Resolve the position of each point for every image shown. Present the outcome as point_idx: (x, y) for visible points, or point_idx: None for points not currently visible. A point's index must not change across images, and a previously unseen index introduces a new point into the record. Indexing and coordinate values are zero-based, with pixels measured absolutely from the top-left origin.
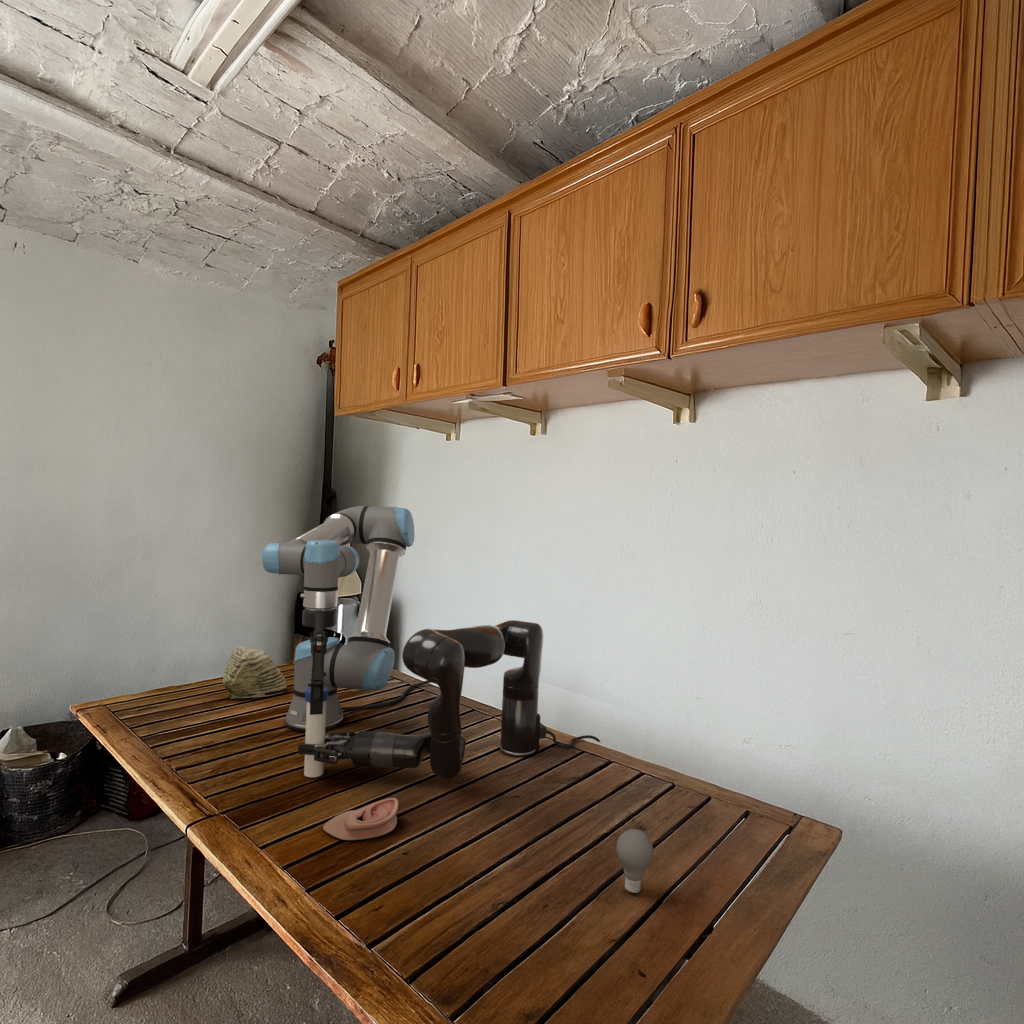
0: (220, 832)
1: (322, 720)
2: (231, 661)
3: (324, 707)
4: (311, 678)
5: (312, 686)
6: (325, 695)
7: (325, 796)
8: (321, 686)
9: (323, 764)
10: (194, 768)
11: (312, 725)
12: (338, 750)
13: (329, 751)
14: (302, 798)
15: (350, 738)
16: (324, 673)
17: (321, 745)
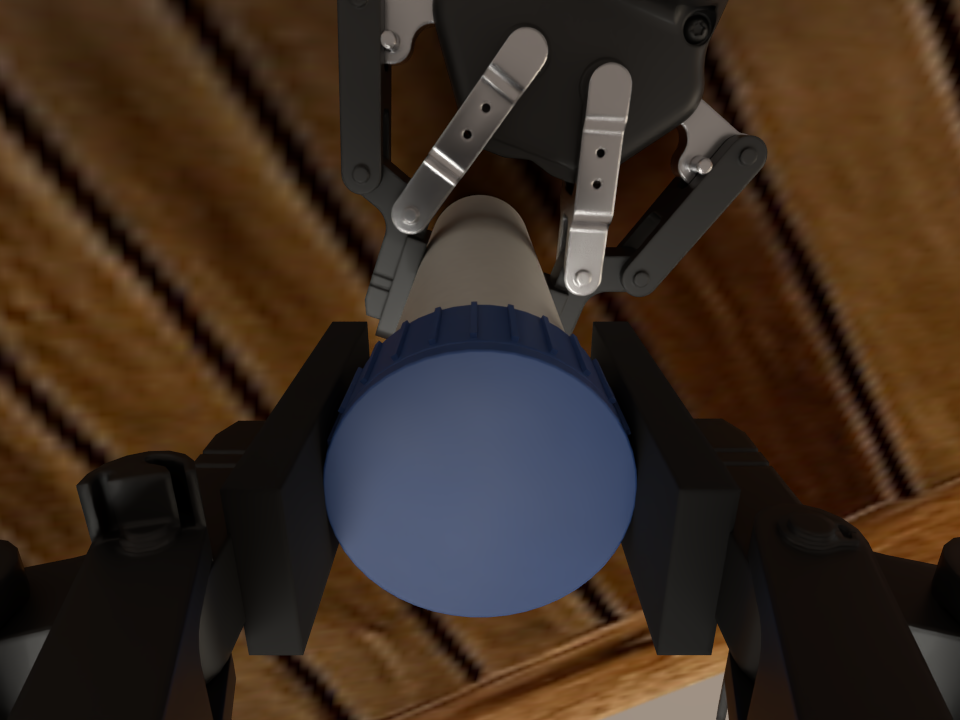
0: (899, 550)
1: (543, 292)
2: None
3: (539, 315)
4: (295, 652)
5: (707, 627)
6: (586, 364)
7: (758, 187)
8: (731, 508)
9: (495, 204)
10: (345, 682)
11: None
12: (670, 129)
13: (712, 197)
14: (740, 292)
15: (486, 23)
16: (131, 507)
17: (590, 251)
